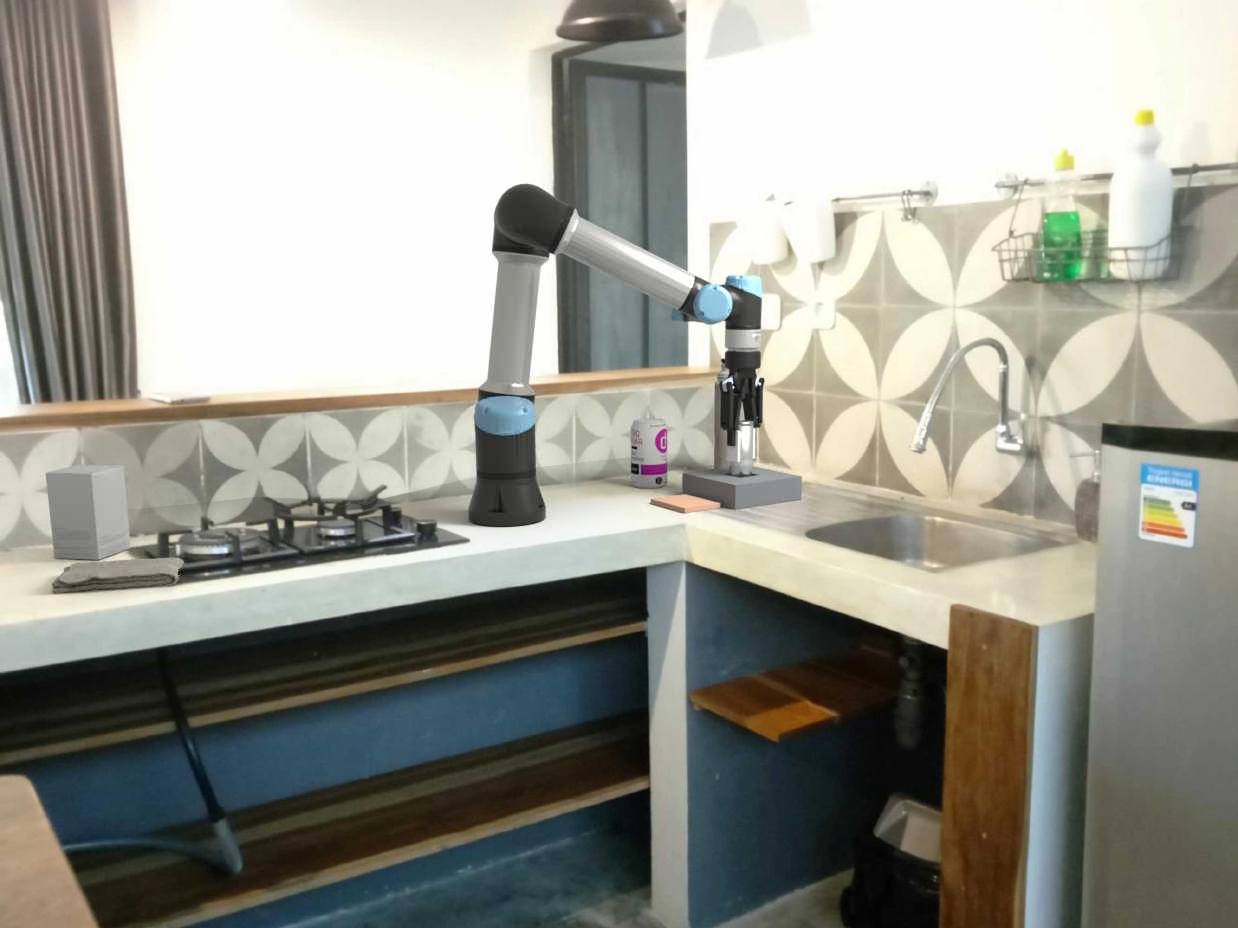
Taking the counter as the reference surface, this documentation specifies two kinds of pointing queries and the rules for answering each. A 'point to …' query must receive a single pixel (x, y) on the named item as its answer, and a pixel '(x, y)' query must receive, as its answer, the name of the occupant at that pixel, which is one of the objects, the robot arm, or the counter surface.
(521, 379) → the robot arm
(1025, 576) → the counter surface
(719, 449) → the thermos bottle
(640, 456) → the supplement can
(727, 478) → the block
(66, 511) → the supplement box
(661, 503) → the pad
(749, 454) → the shiny metal cylinder
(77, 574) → the washcloth
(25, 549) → the counter surface
